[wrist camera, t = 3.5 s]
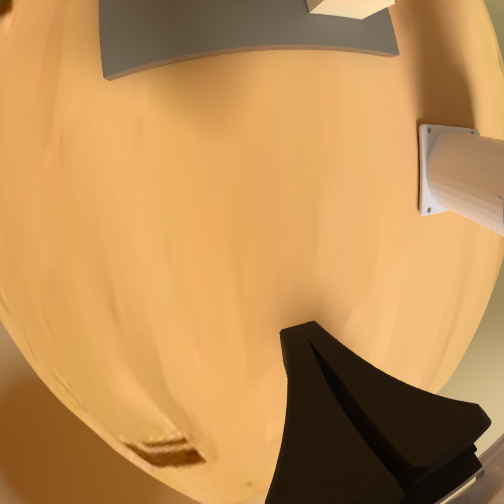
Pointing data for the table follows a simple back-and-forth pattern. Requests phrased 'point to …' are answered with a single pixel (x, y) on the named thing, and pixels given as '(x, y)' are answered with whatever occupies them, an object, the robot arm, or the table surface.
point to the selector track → (227, 31)
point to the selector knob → (348, 7)
